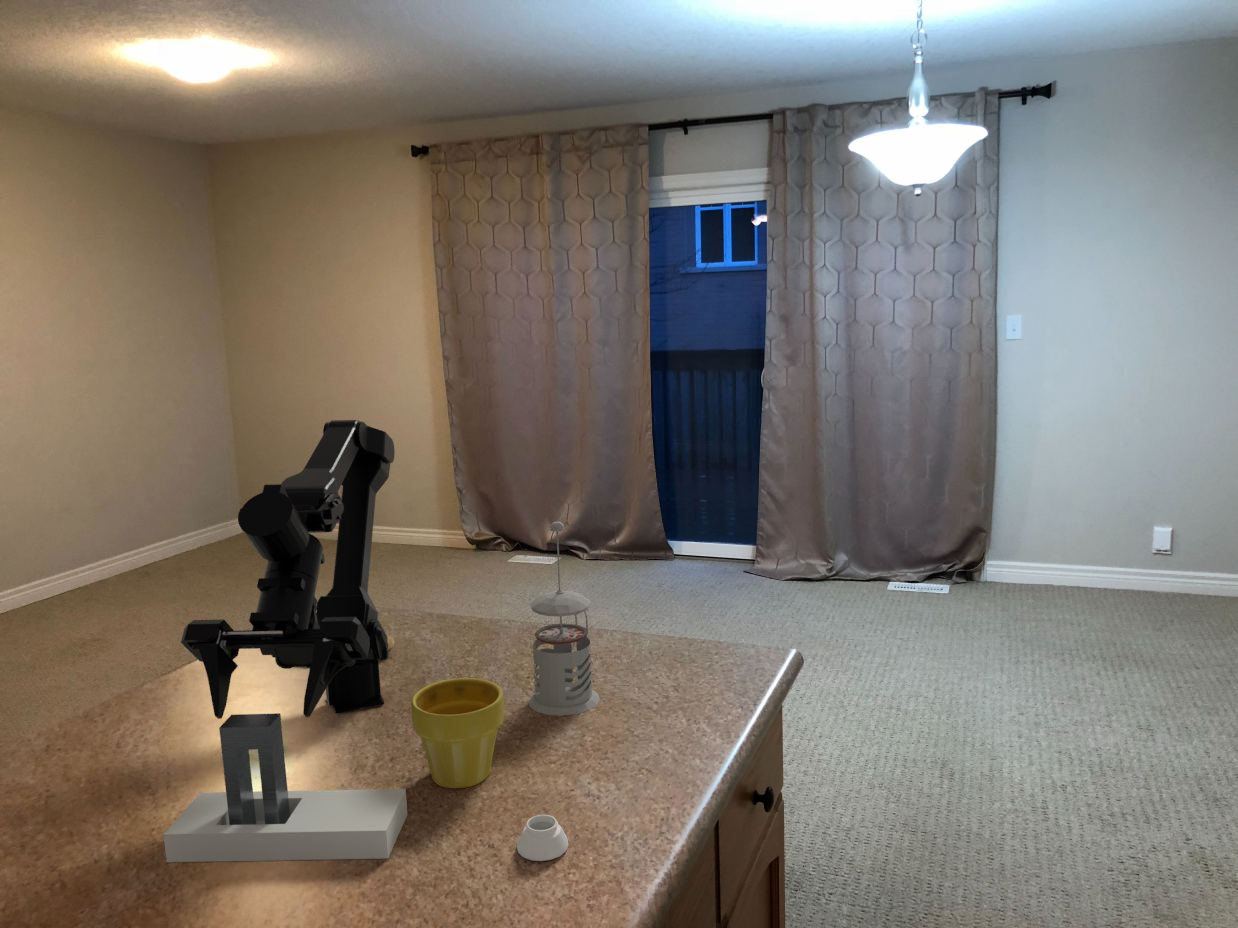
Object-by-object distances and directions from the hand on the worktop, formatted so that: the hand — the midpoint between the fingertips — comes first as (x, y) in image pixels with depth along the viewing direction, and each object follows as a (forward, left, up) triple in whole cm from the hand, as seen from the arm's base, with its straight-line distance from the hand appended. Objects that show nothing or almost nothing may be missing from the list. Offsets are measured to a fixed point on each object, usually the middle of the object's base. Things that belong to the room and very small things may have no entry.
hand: (262, 716), depth 98 cm
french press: (-40, -15, -12) cm, 44 cm away
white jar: (-24, +18, -12) cm, 32 cm away
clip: (+1, +2, -12) cm, 12 cm away
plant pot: (-21, -1, -12) cm, 24 cm away
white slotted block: (-2, +4, -12) cm, 13 cm away
